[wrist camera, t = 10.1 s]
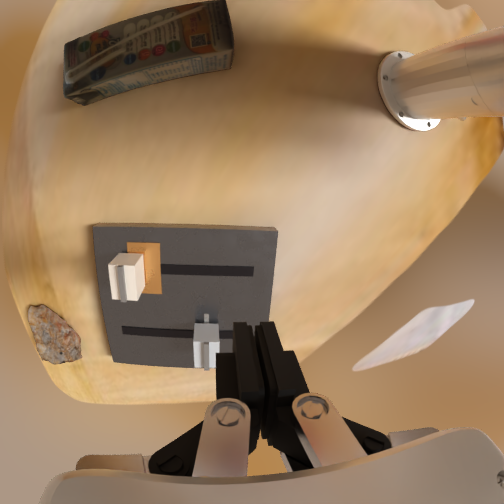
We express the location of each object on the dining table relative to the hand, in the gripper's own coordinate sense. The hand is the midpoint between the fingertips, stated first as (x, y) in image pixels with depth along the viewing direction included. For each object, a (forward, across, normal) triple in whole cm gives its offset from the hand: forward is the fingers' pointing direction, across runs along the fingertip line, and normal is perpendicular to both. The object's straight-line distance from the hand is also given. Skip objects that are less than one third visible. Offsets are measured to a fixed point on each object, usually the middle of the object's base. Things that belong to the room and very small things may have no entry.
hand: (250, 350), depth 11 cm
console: (+23, +6, +10) cm, 26 cm away
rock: (+23, +27, +17) cm, 39 cm away
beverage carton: (+24, +11, -21) cm, 33 cm away
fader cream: (+21, +12, +5) cm, 24 cm away
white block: (+21, +3, +14) cm, 25 cm away
